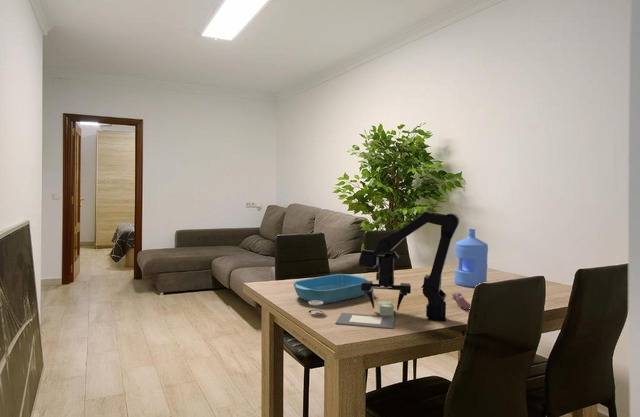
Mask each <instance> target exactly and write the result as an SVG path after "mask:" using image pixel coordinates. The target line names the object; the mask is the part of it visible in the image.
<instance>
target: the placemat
mask: <svg viewBox="0 0 640 417" xmlns="http://www.w3.org/2000/svg"><path fill="white" fill-rule="evenodd" d="M395 320H396V316H392V315H375V314H364V313H363V314H362V313H354V312H353V313H350V312H341V313H340V315H339V316H338V318H337V320H336V321H335V322H334V324H335V325H341V324H345V326H353V325H356V327H365V326H367V327H369V328H376V327H377V328H378V329H379V328H380V329H391V330H393V329H394V324H395ZM367 327H366V328H367ZM377 328H376V329H377Z"/></svg>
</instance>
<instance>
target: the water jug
mask: <svg viewBox="0 0 640 417" xmlns="http://www.w3.org/2000/svg"><path fill="white" fill-rule="evenodd" d="M488 246H489V245H488V244H487V243H486V242H485V241H482V240H480V239H479V238H476V228H473V229H472V228H469V229H468V236H467V237H466V238H463V239H461V240H459V241H457V242H455V246H454V251H455V253H454V256H455V257H456V258H457V268H455V269H454V280H453V281H454V283H455V284H456V285H458V286H460V287H461V286H462V287H466V288H476V287H475V286H476V285H478V284H479V283H483V282H487V283H488V278H487V277H488V276H487V275H488V253H489V247H488Z"/></svg>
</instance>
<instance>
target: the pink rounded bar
mask: <svg viewBox="0 0 640 417" xmlns="http://www.w3.org/2000/svg"><path fill="white" fill-rule="evenodd" d="M451 299H452V300H453V301H455V302H456V304H457V306H458V307H459V308H460V309H462V308H464V309H465V310H467V311H470V310H469V308H470V305H471V304H470V303H469V302H468V301H467V300H466V299H465V297H464V296H463V294H462V293H461V292H453V293H452V297H451Z"/></svg>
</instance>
